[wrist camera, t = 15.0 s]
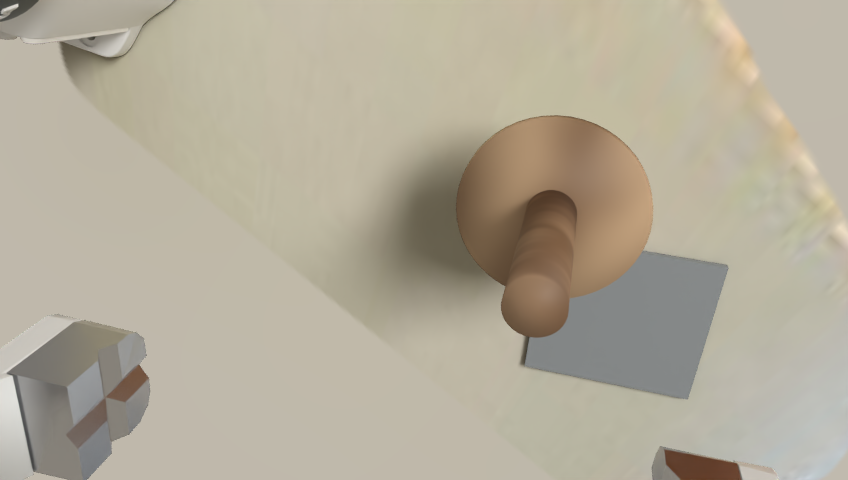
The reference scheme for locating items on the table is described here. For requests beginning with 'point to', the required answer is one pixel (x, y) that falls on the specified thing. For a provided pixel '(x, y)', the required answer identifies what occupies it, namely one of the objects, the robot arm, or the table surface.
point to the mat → (638, 327)
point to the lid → (553, 215)
